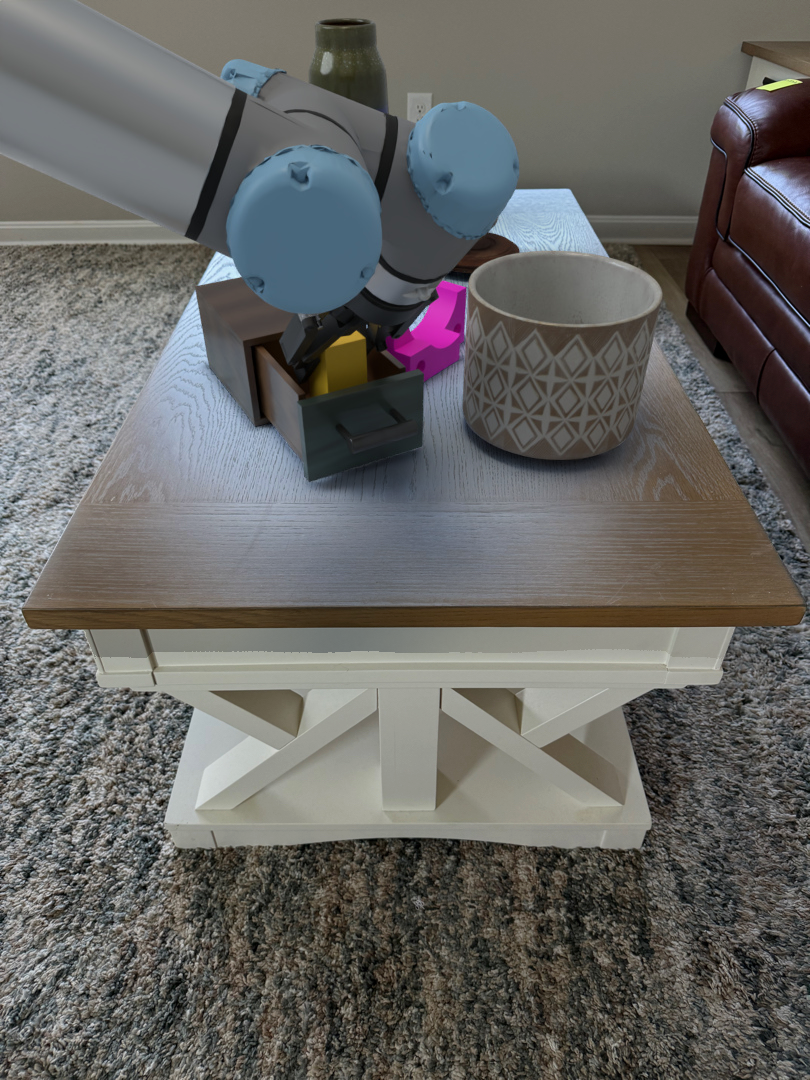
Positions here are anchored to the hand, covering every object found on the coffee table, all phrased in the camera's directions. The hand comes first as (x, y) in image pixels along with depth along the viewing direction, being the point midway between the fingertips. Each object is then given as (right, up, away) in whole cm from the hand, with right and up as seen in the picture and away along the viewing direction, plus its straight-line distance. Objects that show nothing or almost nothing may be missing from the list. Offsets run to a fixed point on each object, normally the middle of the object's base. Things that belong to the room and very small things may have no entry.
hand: (323, 365), depth 85 cm
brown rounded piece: (+20, +26, +43) cm, 53 cm away
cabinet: (-6, +1, +13) cm, 15 cm away
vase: (0, +35, +54) cm, 65 cm away
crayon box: (+2, -7, +1) cm, 7 cm away
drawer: (+2, -8, +1) cm, 8 cm away
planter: (+25, -6, +5) cm, 26 cm away
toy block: (+12, +4, +17) cm, 21 cm away
